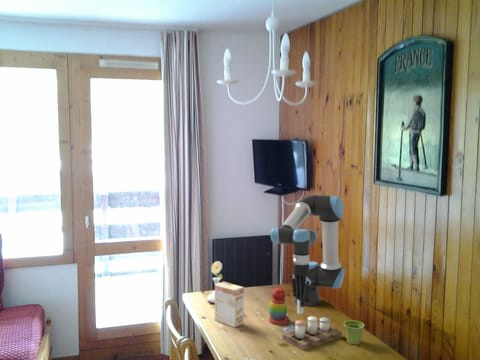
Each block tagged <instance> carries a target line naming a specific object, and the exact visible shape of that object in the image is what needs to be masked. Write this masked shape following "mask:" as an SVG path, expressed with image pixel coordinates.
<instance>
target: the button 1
mask: <svg viewBox="0 0 480 360" xmlns="http://www.w3.org/2000/svg"><path fill="white" fill-rule="evenodd" d="M294 324H295V336H296V337H297V338H304V337H305V326H306V321H305V320H302V319H297V320H295V321H294Z"/></svg>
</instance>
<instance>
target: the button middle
mask: <svg viewBox="0 0 480 360" xmlns="http://www.w3.org/2000/svg"><path fill="white" fill-rule="evenodd" d="M318 319H319V318H318V317H317V316H308V317H307V327H308V333H310V334H312V335H313V334H316V333H317V323H318Z"/></svg>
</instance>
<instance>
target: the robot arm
mask: <svg viewBox="0 0 480 360" xmlns="http://www.w3.org/2000/svg"><path fill="white" fill-rule="evenodd" d="M344 211H345V210H344V203H343V199H342V198H341V197H339V196H338V195H337V196H336V195H320V194H319V195H317V194H313V195H312V194H311V195H307V196H305V197H304V198H301V199H300V200H299V201H298V202H297V203H296V204H295V205H294V207H293V210H292V212H291V213H290V214H289V215H288V217H287V218H286V219H285V221H284V222H283V224H282V225H281V226H280V227H273V228H272V229H271V232H270V239H271V242H272V243H275V244H279V245H280V244H281V245H292V262H293V263H292V271H293V274H290V275H289V278H290V281H291V289H292V296H293V297H294V302H295V304H296V314H297V315H301V314H304V312H305V311H304V310H305V309H304V308H305V306H306V307H314V306H318V305H320V304H321V300H322V299H321V296H320V292H319V287H322V288H329V289H341V287H342V286H343V284H344V279H345V273H346V272H345V271H346V270H345V268H343V267H342V264H341V263H340V262H339V230H338V228H339V227H338V226H339V225H338V224H339V222H340V221H341V218H343V216H344ZM310 216H314V217H318V220H319V222H320V223H321V237H322V240H321V241H322V262H321V263H320V265H319V263H318V262H317V261H310V248H311V247H312V246H314V245H315V244H316V243H317V241H318V237H319V236H318V234H317V232H316V231H315V230H314V229H306V228H305V229H303V228H300V226H301V225H302V224H303V222H304V221H305V219H307V218H309V217H310Z"/></svg>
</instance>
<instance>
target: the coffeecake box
mask: <svg viewBox="0 0 480 360" xmlns="http://www.w3.org/2000/svg"><path fill="white" fill-rule="evenodd" d="M214 290H215V303H214V321H216V322H219V323H221V324H224V325H227V326H229V327H233V328H234V329H235V328H237V327H240V326H242V325H244V323H245V321H244V317H245V316H244V312H245V309H244V308H245V307H244V303H245V301H244V295H245V294H244V292H245V291H244V290H245V287H244V286H242V285H241V286H240V285H237V284H233V283H230V282H227V281H222V282H220V281H219V283H217V284H215V283H214Z"/></svg>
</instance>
